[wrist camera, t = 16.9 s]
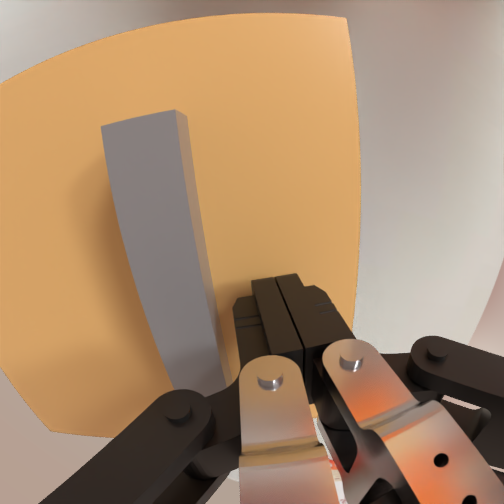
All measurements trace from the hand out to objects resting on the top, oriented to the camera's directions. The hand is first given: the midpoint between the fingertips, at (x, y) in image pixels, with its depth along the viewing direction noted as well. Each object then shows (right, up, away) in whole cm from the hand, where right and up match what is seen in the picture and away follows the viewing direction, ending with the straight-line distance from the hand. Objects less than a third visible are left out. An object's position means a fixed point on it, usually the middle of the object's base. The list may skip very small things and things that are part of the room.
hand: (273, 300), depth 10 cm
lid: (-6, 0, +1) cm, 6 cm away
